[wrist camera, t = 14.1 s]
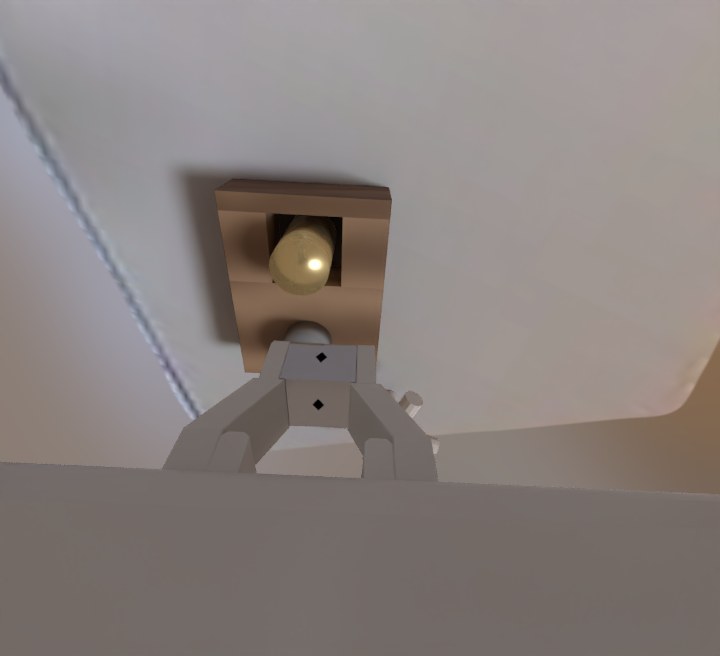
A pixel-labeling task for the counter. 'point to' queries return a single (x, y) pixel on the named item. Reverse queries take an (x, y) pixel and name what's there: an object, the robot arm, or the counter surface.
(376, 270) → the jig
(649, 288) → the counter surface
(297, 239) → the tan cylinder
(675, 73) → the counter surface
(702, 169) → the counter surface
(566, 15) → the counter surface
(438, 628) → the robot arm
